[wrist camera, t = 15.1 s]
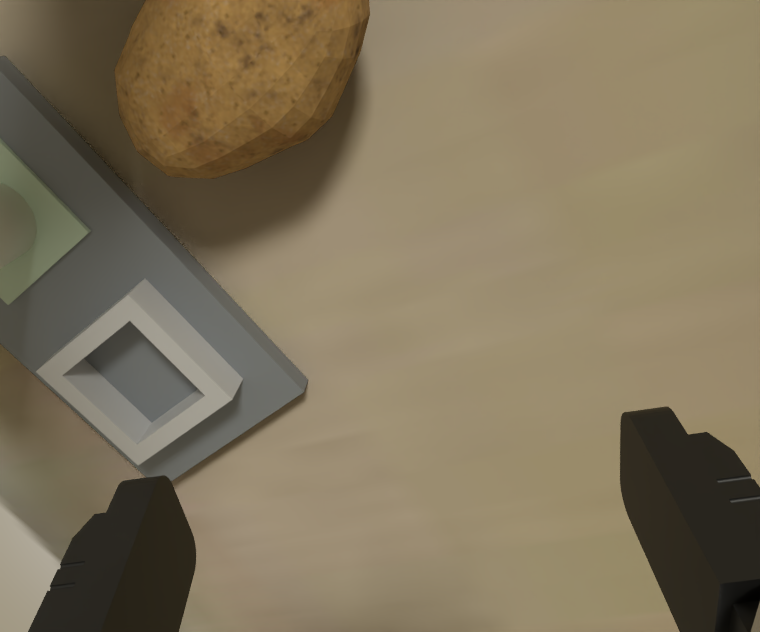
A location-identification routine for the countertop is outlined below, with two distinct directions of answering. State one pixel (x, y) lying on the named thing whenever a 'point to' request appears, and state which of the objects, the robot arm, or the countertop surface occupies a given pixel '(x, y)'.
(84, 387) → the board
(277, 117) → the potato
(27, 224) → the ball
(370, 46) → the countertop surface
